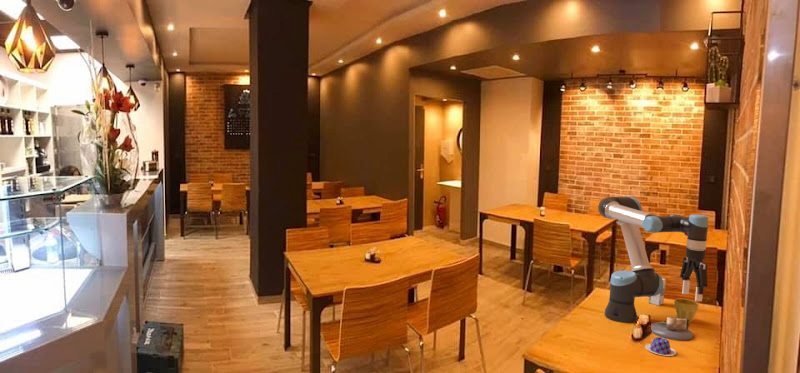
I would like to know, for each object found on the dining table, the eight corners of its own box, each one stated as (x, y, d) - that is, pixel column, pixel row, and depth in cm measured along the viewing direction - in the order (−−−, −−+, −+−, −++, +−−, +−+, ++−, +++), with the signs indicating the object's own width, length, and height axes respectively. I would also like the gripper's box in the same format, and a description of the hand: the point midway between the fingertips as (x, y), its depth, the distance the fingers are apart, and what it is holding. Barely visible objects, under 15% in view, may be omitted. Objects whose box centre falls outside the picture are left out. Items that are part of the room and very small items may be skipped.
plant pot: (676, 322, 243) (678, 303, 243) (670, 315, 253) (671, 297, 253) (699, 325, 241) (701, 306, 240) (692, 317, 251) (694, 299, 250)
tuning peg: (669, 330, 228) (670, 319, 227) (664, 326, 232) (665, 316, 231) (689, 330, 228) (690, 320, 228) (684, 327, 232) (685, 317, 231)
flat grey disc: (662, 340, 221) (662, 336, 221) (642, 325, 239) (642, 321, 239) (701, 341, 221) (701, 336, 221) (678, 325, 239) (678, 321, 239)
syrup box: (652, 301, 276) (655, 276, 275) (663, 304, 272) (666, 278, 270) (648, 303, 273) (650, 277, 271) (659, 306, 268) (661, 280, 267)
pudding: (647, 343, 218) (648, 331, 218) (678, 350, 211) (679, 338, 210) (642, 351, 209) (643, 340, 208) (673, 360, 201) (674, 347, 201)
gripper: (720, 254, 209) (715, 305, 211) (689, 243, 231) (685, 290, 233) (703, 254, 209) (698, 305, 211) (674, 243, 231) (670, 289, 233)
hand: (691, 297), depth 222 cm, fingers open, 9 cm apart
